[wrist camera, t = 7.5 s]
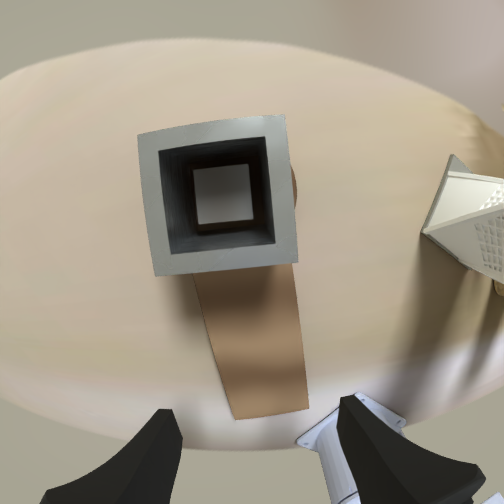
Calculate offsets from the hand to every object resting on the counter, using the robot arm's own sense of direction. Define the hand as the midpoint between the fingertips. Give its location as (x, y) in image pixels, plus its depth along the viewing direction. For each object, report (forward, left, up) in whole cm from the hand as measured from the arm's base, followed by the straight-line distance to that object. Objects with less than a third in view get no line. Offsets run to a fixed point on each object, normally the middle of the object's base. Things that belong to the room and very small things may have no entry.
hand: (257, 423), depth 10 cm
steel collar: (+7, -6, -8) cm, 12 cm away
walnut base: (+2, -2, -9) cm, 10 cm away
